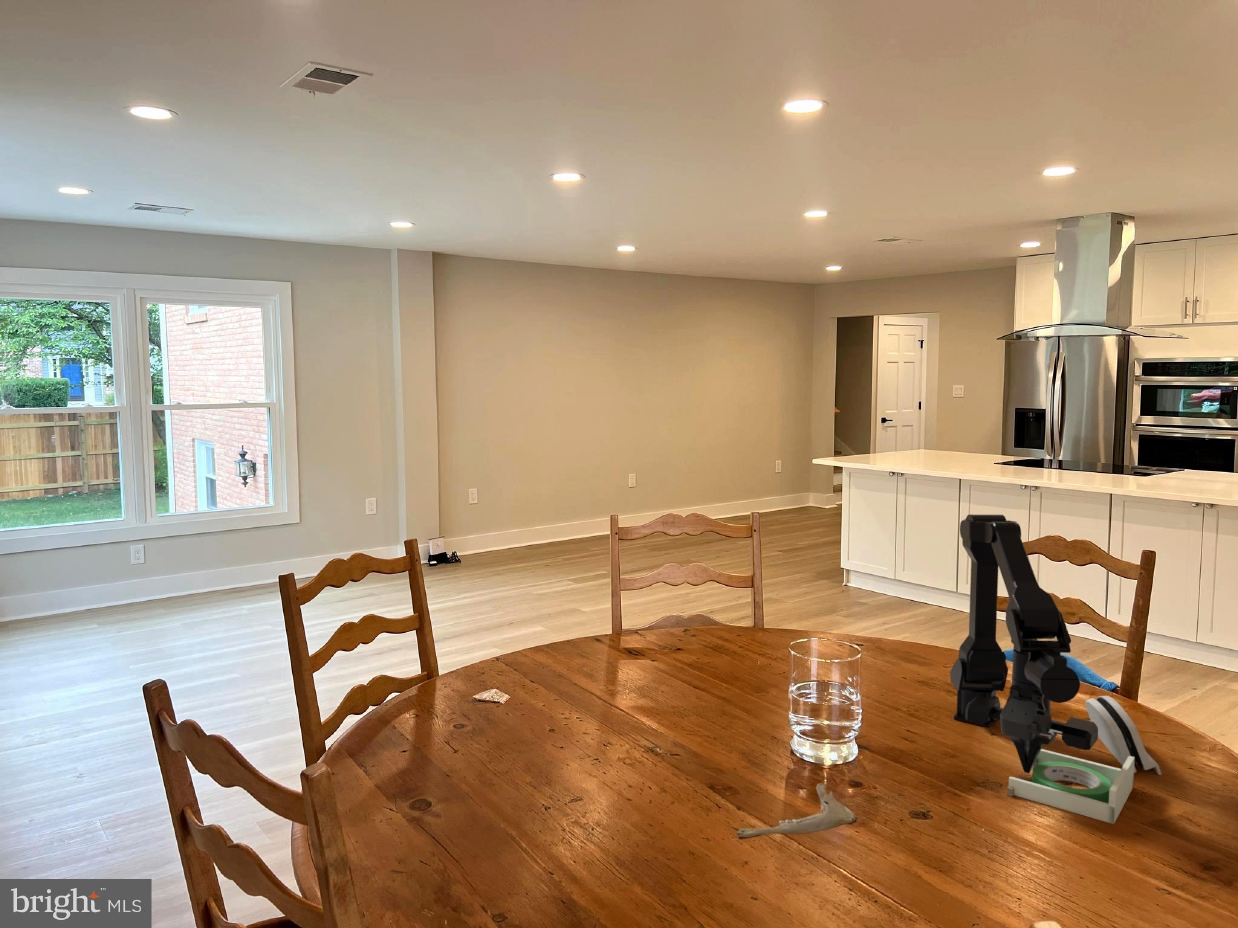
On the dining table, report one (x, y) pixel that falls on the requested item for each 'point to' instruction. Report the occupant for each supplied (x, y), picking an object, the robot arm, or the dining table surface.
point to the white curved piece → (1119, 732)
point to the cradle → (1076, 803)
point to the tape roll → (1073, 779)
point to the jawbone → (810, 818)
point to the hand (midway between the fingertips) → (1027, 771)
